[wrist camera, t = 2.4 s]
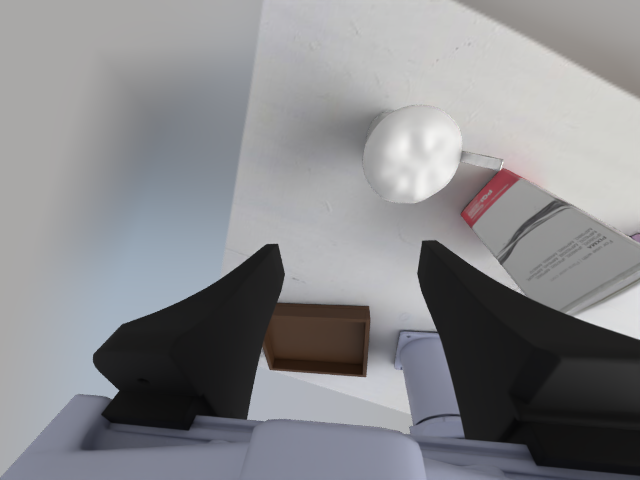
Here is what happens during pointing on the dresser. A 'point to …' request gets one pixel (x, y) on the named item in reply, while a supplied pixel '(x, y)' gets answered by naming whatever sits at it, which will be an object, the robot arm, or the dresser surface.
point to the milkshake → (415, 153)
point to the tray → (318, 339)
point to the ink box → (559, 252)
